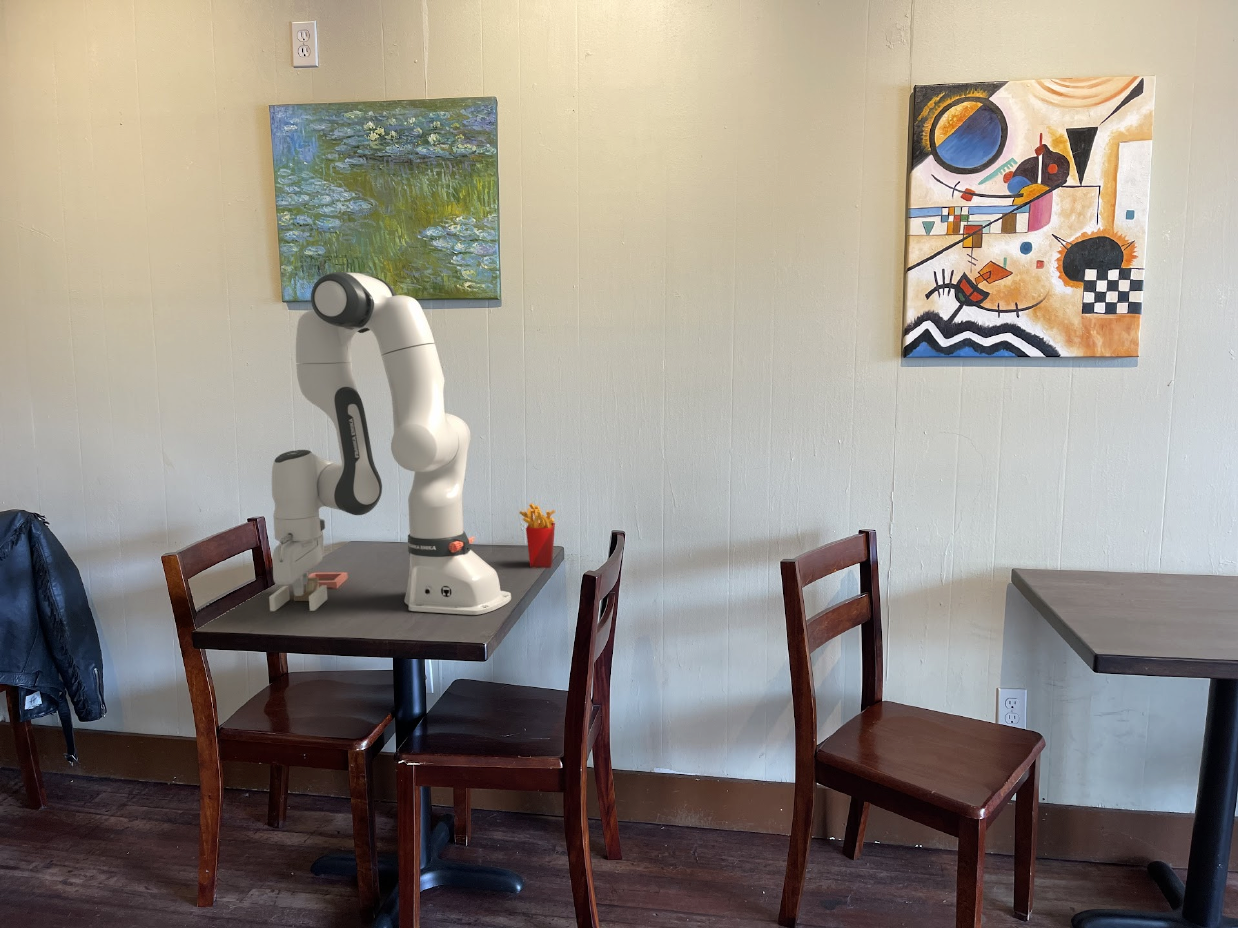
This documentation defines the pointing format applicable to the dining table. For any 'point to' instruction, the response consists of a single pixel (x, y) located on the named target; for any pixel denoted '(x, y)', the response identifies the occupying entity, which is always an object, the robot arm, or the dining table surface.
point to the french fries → (539, 536)
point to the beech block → (308, 589)
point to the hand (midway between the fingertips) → (300, 593)
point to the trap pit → (330, 579)
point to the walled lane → (283, 596)
